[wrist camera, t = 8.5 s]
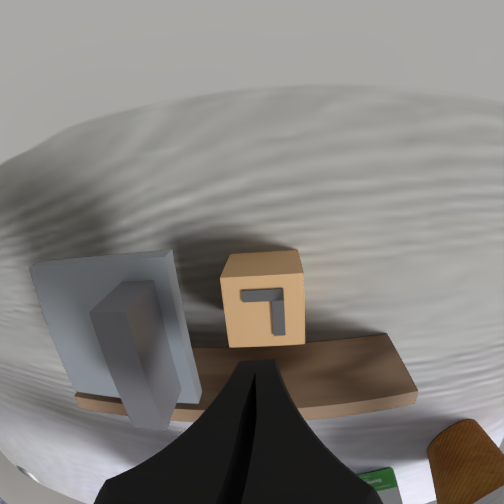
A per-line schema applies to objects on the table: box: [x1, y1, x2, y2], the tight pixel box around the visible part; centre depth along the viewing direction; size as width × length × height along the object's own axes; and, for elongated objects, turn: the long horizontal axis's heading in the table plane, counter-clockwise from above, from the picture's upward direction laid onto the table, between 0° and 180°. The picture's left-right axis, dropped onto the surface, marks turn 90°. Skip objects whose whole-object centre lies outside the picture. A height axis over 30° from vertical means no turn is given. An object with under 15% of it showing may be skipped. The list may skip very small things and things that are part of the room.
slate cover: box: [29, 250, 202, 431], centre depth 13 cm, size 8×8×4 cm
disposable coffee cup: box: [427, 419, 504, 504], centre depth 18 cm, size 10×10×12 cm
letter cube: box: [220, 250, 305, 347], centre depth 18 cm, size 4×4×4 cm
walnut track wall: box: [74, 334, 418, 422], centre depth 18 cm, size 20×1×6 cm, turn 96°
